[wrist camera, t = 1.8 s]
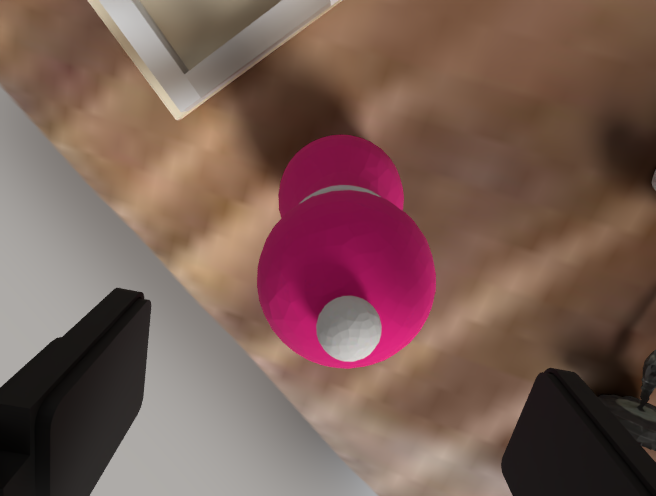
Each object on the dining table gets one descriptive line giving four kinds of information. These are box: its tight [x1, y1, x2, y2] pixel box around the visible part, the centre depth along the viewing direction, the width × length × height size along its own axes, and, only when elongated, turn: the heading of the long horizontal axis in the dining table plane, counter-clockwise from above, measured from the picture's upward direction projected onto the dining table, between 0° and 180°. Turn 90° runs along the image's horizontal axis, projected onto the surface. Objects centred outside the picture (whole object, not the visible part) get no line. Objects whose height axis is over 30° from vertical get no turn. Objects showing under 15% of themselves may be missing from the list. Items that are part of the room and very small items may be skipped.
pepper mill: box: [257, 135, 436, 369], centre depth 21 cm, size 7×7×20 cm
